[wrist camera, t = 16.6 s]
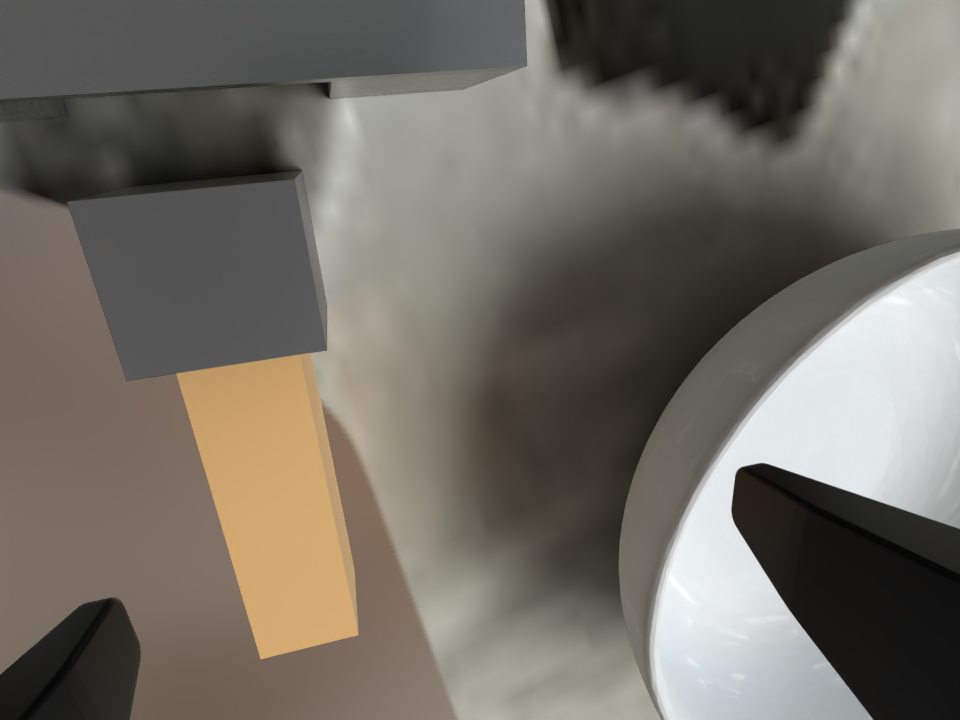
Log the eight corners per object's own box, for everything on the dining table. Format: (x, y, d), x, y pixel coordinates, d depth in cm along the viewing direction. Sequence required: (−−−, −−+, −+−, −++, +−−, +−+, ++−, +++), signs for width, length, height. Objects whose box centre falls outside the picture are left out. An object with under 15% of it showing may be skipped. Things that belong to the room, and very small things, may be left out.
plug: (302, 170, 17) (294, 179, 13) (374, 563, 22) (384, 654, 18) (130, 186, 16) (66, 201, 12) (248, 592, 21) (230, 693, 17)
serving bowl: (591, 705, 27) (669, 872, 21) (521, 277, 19) (616, 343, 13) (957, 565, 31) (1120, 675, 24) (1030, 149, 22) (1302, 152, 16)
